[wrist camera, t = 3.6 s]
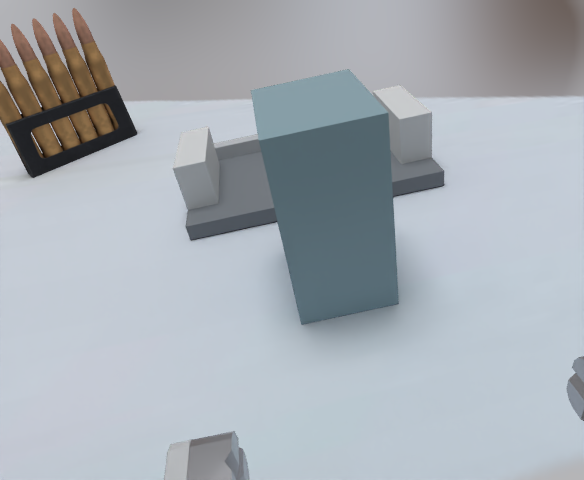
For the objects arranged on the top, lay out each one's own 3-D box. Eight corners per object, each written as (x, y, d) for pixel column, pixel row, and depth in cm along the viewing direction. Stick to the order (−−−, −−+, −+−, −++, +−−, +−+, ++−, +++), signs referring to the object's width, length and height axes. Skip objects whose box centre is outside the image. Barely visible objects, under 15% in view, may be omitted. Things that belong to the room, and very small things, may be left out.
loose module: (301, 324, 20) (258, 140, 15) (287, 248, 25) (251, 90, 20) (398, 303, 20) (388, 112, 15) (364, 232, 25) (348, 69, 20)
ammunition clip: (130, 130, 47) (80, 5, 40) (138, 134, 46) (87, 5, 39) (27, 173, 42) (-50, 38, 36) (32, 178, 41) (-47, 39, 34)
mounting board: (190, 240, 28) (169, 183, 25) (198, 170, 36) (183, 122, 34) (443, 185, 28) (445, 123, 25) (394, 128, 36) (391, 77, 34)
